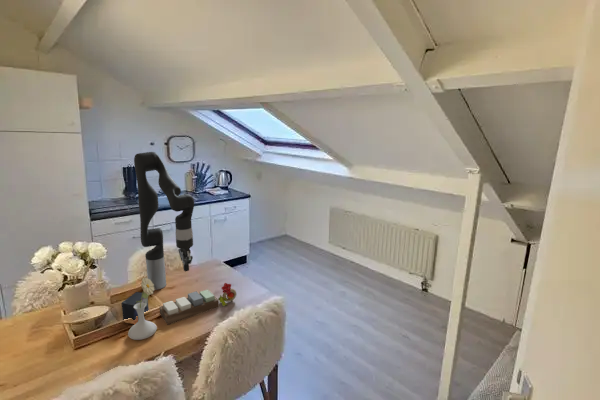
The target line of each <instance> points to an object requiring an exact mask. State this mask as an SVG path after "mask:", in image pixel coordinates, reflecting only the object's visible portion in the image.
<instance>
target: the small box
mask: <svg viewBox="0 0 600 400" xmlns="http://www.w3.org/2000/svg"><path fill="white" fill-rule="evenodd" d="M142 293H143V294H144V293H145V292H140V291H136V292H134V293H133V294H131V295H130V296H128V297H127V298H126V299H124V300H123V301H122V302H121V311H122V312H121V313H122V321H123V320H124V319H128V318H132V319H133V320H135V319H136V316H138V313H137V311H136V309H134V305H135V304H138V303H140V302H137V303H136V301H141V297H142ZM141 303H146V304H147V305H146V307H145V309H144V312H146V311H148V310H149V311H150V309H149V297H148V298H146V299H145V298H143V297H142V302H141Z"/></svg>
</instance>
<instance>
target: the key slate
mask: <svg viewBox="0 0 600 400" xmlns="http://www.w3.org/2000/svg"><path fill="white" fill-rule="evenodd" d="M187 298H188V301H189V302H190V303H191V304H192V305H193V306H194V307H196V306H199V305H202V304H203V297H202V296H201V295H200V292H198V291H193V292H190V293H187Z"/></svg>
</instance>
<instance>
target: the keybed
mask: <svg viewBox="0 0 600 400" xmlns="http://www.w3.org/2000/svg"><path fill="white" fill-rule="evenodd" d="M185 298H186V299H187V300H188V297H185ZM218 299H219V298H217V297H216V296H215V300H213V301H210V302H207V303H206V302H205V301H204V300H203V304H202V305H199V306H196V307H194V306H193V305H192V304H191V308H190V309H187V310H184V311H181V310H180V309H179V307H178V306H177V305H176V306H177V307H178V313H175V314H172V315H169V316H168V314H167V313H166V312H165V310H164V309H163V305H161V306H159V315H160V314H161V315H160V316H161V318H162V320H163V321H164V322H165V324H166V326H169V325H173V324H175V323H178V322H181V321H184V320H187V319H189V318H192V317H196V316H198V315H201V314H204V313H206V312H210V311H213V310H215V309H217V308H219V307H220V304H219V302H220V301H219V300H218ZM173 302H174V303H175V304H176V301H173Z"/></svg>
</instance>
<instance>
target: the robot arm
mask: <svg viewBox="0 0 600 400" xmlns="http://www.w3.org/2000/svg"><path fill="white" fill-rule="evenodd" d="M133 161H134V162H133V164H134V169H135V176H136V181H137V182H136V183H137V194H138V195H137V196H138V198H137V199H138V208H139V209H138V210H139V217H140V218H139V220H140V225H139V226H140V242H141V243H140V244H141V246H142V247H144V248H148V247H153V248H152V249H150V250H148V251H147V252H146V253H145V265H146V275H147V278H148V279H150V280H151V281H152V284H154V286H153V287H154V291H155V290H156V291H157V290H161V289H164V288H165V287H166V286H167V279H166V278H167V274H166V264H165V251H164V233H163V230H162V229H161V227H155V228H149V225H150V222H151V221H152V219H153V217H154V216H155V214H156V213H157V211H158V210H159V195H158V193H157V191H156V190H155V188H153V185H151V184H150V182H149V181H148V179H147V173H146V172H152V171H157V173H158V186H159V188H160V190H161V191H162V192H163V194H164V195H165V196H166V198H167V201H168V203H169V207H170V209H171V210H172V211H174V212H176V213H177V212H181V213H180V214H178V215H176V216H175V218H174V221H175V223H174V224H175V245H176V248H177V249H178V250H177V251H178V254H179V257H180V258H179V259H180V261H181V262H182V267H183V268H182V269H183V271H184V272H189V271H190V266H189V265H191V264H192V261H193V259H194V256H193V255H191V254H192V251H191V248H192V247H193V245H194V236H193V235H194V233H193V228H192V227H193V226H192V225H193V224H192V217H193V212H194V208H195V199H194V197H193V195H191V194H189V193H185V194H181V193H182V188H180V186H179V185H178V184H177V183H176V181H175V180H174V179H173V178H172V176H171V175H170V173H169V171H168V169H167V167H166V165H165V164H164V162H163V160H162V159H161V156H159V154H158V153H156V152H155V151H147V152H139V153H136V154H135V155H134V159H133ZM148 228H149V229H148Z"/></svg>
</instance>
